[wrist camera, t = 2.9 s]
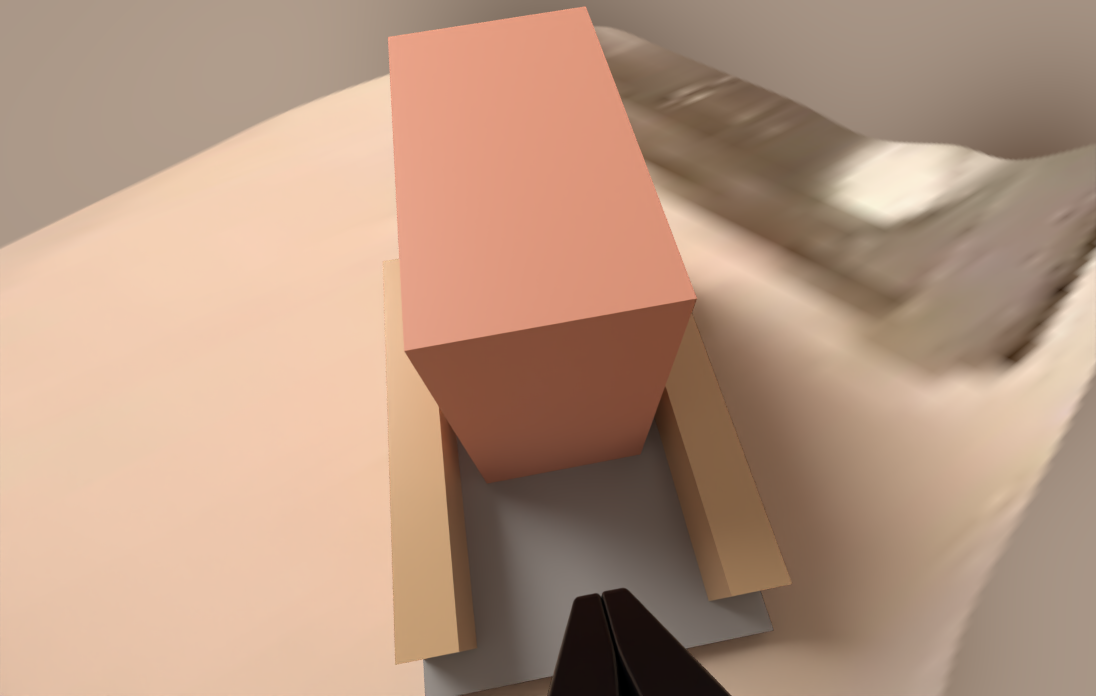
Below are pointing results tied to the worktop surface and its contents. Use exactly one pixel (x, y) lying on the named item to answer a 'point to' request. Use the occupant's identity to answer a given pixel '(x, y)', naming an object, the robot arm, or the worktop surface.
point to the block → (531, 244)
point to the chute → (567, 531)
